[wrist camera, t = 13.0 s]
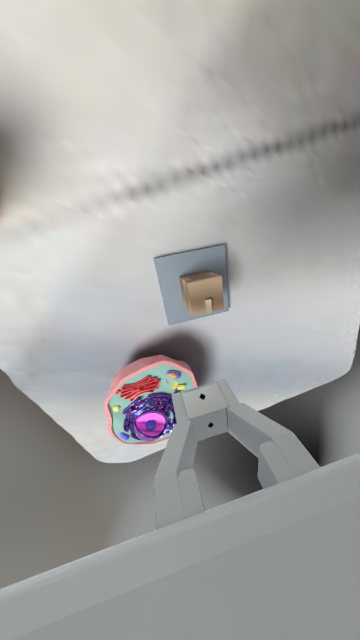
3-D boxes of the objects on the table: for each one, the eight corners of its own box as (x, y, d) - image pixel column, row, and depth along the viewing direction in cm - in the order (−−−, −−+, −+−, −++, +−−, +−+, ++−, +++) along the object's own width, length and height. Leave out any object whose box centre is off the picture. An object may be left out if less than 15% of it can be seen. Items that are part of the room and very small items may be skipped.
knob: (178, 276, 29) (188, 284, 23) (207, 270, 29) (223, 276, 23) (183, 303, 31) (193, 317, 25) (209, 297, 31) (225, 310, 25)
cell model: (204, 349, 37) (227, 387, 27) (170, 413, 43) (179, 465, 33) (127, 327, 32) (120, 365, 22) (100, 404, 38) (84, 463, 28)
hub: (153, 258, 28) (155, 261, 23) (222, 244, 29) (238, 244, 24) (168, 322, 33) (172, 336, 28) (226, 308, 34) (240, 319, 29)
